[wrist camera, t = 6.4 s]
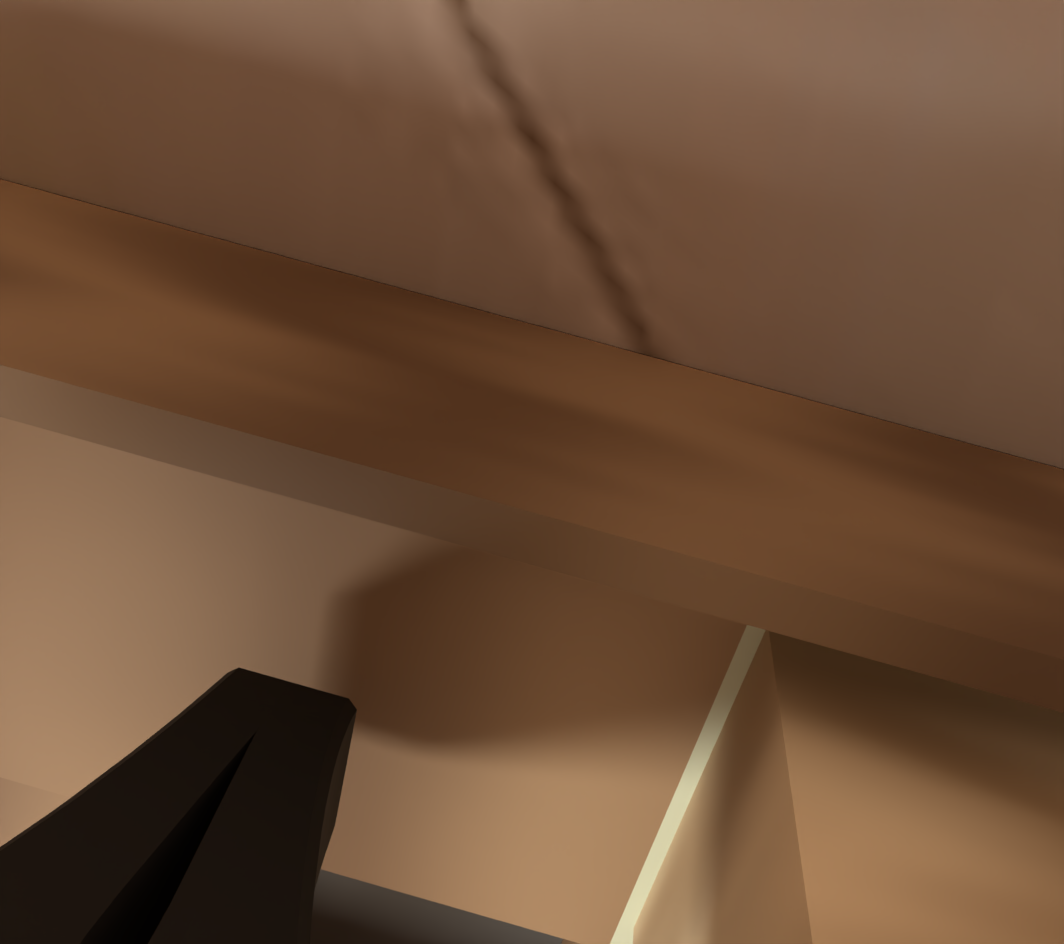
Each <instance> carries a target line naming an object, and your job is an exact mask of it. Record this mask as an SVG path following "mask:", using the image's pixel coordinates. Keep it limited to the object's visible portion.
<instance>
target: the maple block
mask: <svg viewBox="0 0 1064 944" xmlns="http://www.w3.org/2000/svg"><path fill="white" fill-rule="evenodd" d="M633 944H1064V713H1062V712H1058V711H1055V710H1051V709H1048V708H1044V707H1040V706H1037V705H1033V704H1030V703H1026V702H1022V701H1019V700H1015V699H1012V698H1008V697H1004V696H1001V695H997V694H994V693H990V692H987V691H983V690H979V689H976V688H972V687H969V686H965V685H961V684H958V683H954V682H951V681H947V680H943V679H940V678H936V677H933V676H929V675H925V674H922V673H918V672H915V671H911V670H907V669H904V668H900V667H897V666H893V665H890V664H886V663H882V662H879V661H875V660H872V659H868V658H864V657H861V656H857V655H854V654H850V653H846V652H843V651H839V650H836V649H832V648H828V647H825V646H821V645H818V644H814V643H811V642H807V641H803V640H800V639H796V638H793V637H789V636H785V635H782V634H778V633H775V632H771V631H767V630H765V633H764V635H763V637H762V639H761V642H760V644H759V646H758V648H757V651H756V653H755V655H754V657H753V660H752V662H751V664H750V666H749V669H748V671H747V673H746V675H745V678H744V680H743V682H742V684H741V687H740V689H739V691H738V694H737V696H736V698H735V700H734V703H733V705H732V707H731V709H730V712H729V714H728V716H727V718H726V721H725V723H724V725H723V727H722V730H721V732H720V734H719V736H718V739H717V741H716V743H715V745H714V748H713V750H712V752H711V754H710V757H709V759H708V761H707V763H706V766H705V768H704V770H703V772H702V775H701V777H700V779H699V782H698V784H697V786H696V788H695V791H694V793H693V795H692V797H691V800H690V802H689V804H688V806H687V809H686V811H685V813H684V815H683V818H682V820H681V822H680V824H679V827H678V829H677V831H676V833H675V836H674V838H673V840H672V842H671V845H670V847H669V849H668V851H667V854H666V856H665V858H664V860H663V863H662V865H661V867H660V870H659V872H658V874H657V876H656V879H655V881H654V883H653V885H652V888H651V890H650V892H649V894H648V897H647V899H646V901H645V903H644V906H643V908H642V910H641V912H640V915H639V917H638V919H637V921H636V924H635V926H634V931H633Z"/></svg>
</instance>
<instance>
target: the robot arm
mask: <svg viewBox="0 0 1064 944" xmlns="http://www.w3.org/2000/svg"><path fill="white" fill-rule="evenodd" d="M356 713H357V709H356V708H355V706H354V705H353V703H352V702H351V701H350V699H349V698H346V697H342V696H338V695H335V694H331V693H328V692H324V691H321V690H317V689H314V688H310V687H307V686H303V685H300V684H296V683H292V682H289V681H285V680H282V679H278V678H275V677H271V676H268V675H264V674H261V673H257V672H253V671H250V670H246V669H243V668H239V667H238V668H236V669H234V670H232V671H230V672H228V673H227V674H225V675H224V676H223V677H222V678H221V679H220V680H218V681H217V682H216V683H215V684H214V685H213V686H212V687H210V688H209V689H208V690H207V691H206V692H205V693H203V694H202V695H201V696H200V697H199V698H197V699H196V700H195V701H194V702H193V703H192V704H190V705H189V706H188V707H187V708H186V709H184V710H183V711H182V712H181V713H180V714H178V715H177V716H176V717H175V718H173V719H172V720H171V721H170V722H169V723H167V724H166V725H165V726H164V727H162V728H161V729H160V730H159V731H157V732H156V733H155V734H154V735H152V736H151V737H150V738H149V739H147V740H146V741H145V742H143V743H142V744H141V745H140V746H138V747H137V748H136V749H135V750H133V751H132V752H131V753H130V754H128V755H127V756H126V757H124V758H123V759H122V760H120V761H119V762H118V763H116V764H115V765H114V766H112V767H111V768H110V769H108V770H107V771H106V772H104V773H103V774H102V775H100V776H99V777H98V778H96V779H95V780H94V781H92V782H91V783H90V784H88V785H87V786H86V787H84V788H83V789H82V790H80V791H79V792H78V793H76V794H75V795H74V796H72V797H71V798H70V799H68V800H67V801H66V802H64V803H63V804H62V805H60V806H59V807H57V808H56V809H55V810H53V811H52V812H50V813H49V814H48V815H46V816H45V817H43V818H42V819H40V820H39V821H37V822H36V823H34V824H33V825H31V826H30V827H29V828H27V829H26V830H24V831H23V832H21V833H20V834H18V835H17V836H15V837H14V838H12V839H11V840H10V841H8V842H7V843H5V844H4V845H2V846H1V847H0V944H310V937H311V922H312V911H313V899H314V891H315V887H316V884H317V880H318V877H319V873H320V870H321V866H322V863H323V860H324V857H325V854H326V851H327V848H328V845H329V842H330V839H331V836H332V833H333V830H334V827H335V823H336V818H337V812H338V807H339V802H340V797H341V791H342V786H343V781H344V776H345V770H346V765H347V760H348V755H349V749H350V744H351V739H352V734H353V728H354V723H355V718H356Z"/></svg>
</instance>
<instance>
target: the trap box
mask: <svg viewBox="0 0 1064 944" xmlns="http://www.w3.org/2000/svg"><path fill="white" fill-rule="evenodd" d="M765 630H767V631H771V632H775V633H778V634H782V635H785V636H789V637H793V638H796V639H800V640H803V641H807V642H811V643H814V644H818V645H821V646H825V647H828V648H832V649H836V650H839V651H843V652H846V653H850V654H854V655H857V656H861V657H864V658H868V659H872V660H875V661H879V662H882V663H886V664H890V665H893V666H897V667H900V668H904V669H907V670H911V671H915V672H918V673H922V674H925V675H929V676H933V677H936V678H940V679H943V680H947V681H951V682H954V683H958V684H961V685H965V686H969V687H972V688H976V689H979V690H983V691H987V692H990V693H994V694H997V695H1001V696H1004V697H1008V698H1012V699H1015V700H1019V701H1022V702H1026V703H1030V704H1033V705H1037V706H1040V707H1044V708H1048V709H1051V710H1055V711H1058V712H1062V713H1064V469H1060V468H1056V467H1053V466H1049V465H1045V464H1042V463H1038V462H1034V461H1031V460H1027V459H1024V458H1020V457H1016V456H1013V455H1009V454H1005V453H1002V452H998V451H994V450H991V449H987V448H983V447H980V446H976V445H972V444H969V443H965V442H961V441H958V440H954V439H950V438H947V437H943V436H939V435H936V434H932V433H928V432H925V431H921V430H917V429H914V428H910V427H906V426H903V425H899V424H895V423H892V422H888V421H884V420H881V419H877V418H873V417H870V416H866V415H862V414H859V413H855V412H851V411H848V410H844V409H840V408H837V407H833V406H829V405H826V404H822V403H818V402H815V401H811V400H807V399H804V398H800V397H796V396H793V395H789V394H785V393H782V392H778V391H774V390H771V389H767V388H763V387H760V386H756V385H752V384H749V383H745V382H741V381H738V380H734V379H730V378H727V377H723V376H719V375H716V374H712V373H708V372H705V371H701V370H697V369H694V368H690V367H686V366H683V365H679V364H675V363H672V362H668V361H664V360H661V359H657V358H653V357H650V356H646V355H642V354H639V353H635V352H631V351H628V350H624V349H620V348H617V347H613V346H609V345H606V344H602V343H598V342H595V341H591V340H587V339H584V338H580V337H577V336H573V335H569V334H566V333H562V332H558V331H555V330H551V329H547V328H544V327H540V326H536V325H533V324H529V323H525V322H522V321H518V320H514V319H511V318H507V317H503V316H500V315H496V314H492V313H489V312H485V311H481V310H478V309H474V308H470V307H467V306H463V305H459V304H456V303H452V302H448V301H445V300H441V299H437V298H434V297H430V296H426V295H423V294H419V293H415V292H412V291H408V290H404V289H401V288H397V287H393V286H390V285H386V284H382V283H379V282H375V281H371V280H368V279H364V278H360V277H357V276H353V275H349V274H346V273H342V272H338V271H335V270H331V269H327V268H324V267H320V266H316V265H313V264H309V263H305V262H302V261H298V260H294V259H291V258H287V257H283V256H280V255H276V254H272V253H269V252H265V251H261V250H258V249H254V248H250V247H247V246H243V245H239V244H236V243H232V242H228V241H225V240H221V239H217V238H214V237H210V236H206V235H203V234H199V233H195V232H192V231H188V230H184V229H181V228H177V227H173V226H170V225H166V224H162V223H159V222H155V221H151V220H148V219H144V218H140V217H137V216H133V215H130V214H126V213H122V212H119V211H115V210H111V209H108V208H104V207H100V206H97V205H93V204H89V203H86V202H82V201H78V200H75V199H71V198H67V197H64V196H60V195H56V194H53V193H49V192H45V191H42V190H38V189H34V188H31V187H27V186H23V185H20V184H16V183H12V182H9V181H5V180H1V179H0V847H1V846H2V845H4V844H5V843H7V842H8V841H10V840H11V839H12V838H14V837H15V836H17V835H18V834H20V833H21V832H23V831H24V830H26V829H27V828H29V827H30V826H31V825H33V824H34V823H36V822H37V821H39V820H40V819H42V818H43V817H45V816H46V815H48V814H49V813H50V812H52V811H53V810H55V809H56V808H57V807H59V806H60V805H62V804H63V803H64V802H66V801H67V800H68V799H70V798H71V797H72V796H74V795H75V794H76V793H78V792H79V791H80V790H82V789H83V788H84V787H86V786H87V785H88V784H90V783H91V782H92V781H94V780H95V779H96V778H98V777H99V776H100V775H102V774H103V773H104V772H106V771H107V770H108V769H110V768H111V767H112V766H114V765H115V764H116V763H118V762H119V761H120V760H122V759H123V758H124V757H126V756H127V755H128V754H130V753H131V752H132V751H133V750H135V749H136V748H137V747H138V746H140V745H141V744H142V743H143V742H145V741H146V740H147V739H149V738H150V737H151V736H152V735H154V734H155V733H156V732H157V731H159V730H160V729H161V728H162V727H164V726H165V725H166V724H167V723H169V722H170V721H171V720H172V719H173V718H175V717H176V716H177V715H178V714H180V713H181V712H182V711H183V710H184V709H186V708H187V707H188V706H189V705H190V704H192V703H193V702H194V701H195V700H196V699H197V698H199V697H200V696H201V695H202V694H203V693H205V692H206V691H207V690H208V689H209V688H210V687H212V686H213V685H214V684H215V683H216V682H217V681H218V680H220V679H221V678H222V677H223V676H224V675H225V674H227V673H228V672H230V671H232V670H234V669H236V668H238V667H239V668H243V669H246V670H250V671H253V672H257V673H261V674H264V675H268V676H271V677H275V678H278V679H282V680H285V681H289V682H292V683H296V684H300V685H303V686H307V687H310V688H314V689H317V690H321V691H324V692H328V693H331V694H335V695H338V696H342V697H346V698H349V699H350V701H351V702H352V703H353V705H354V706H355V708H356V709H357V713H356V718H355V723H354V728H353V734H352V739H351V744H350V749H349V755H348V760H347V765H346V770H345V776H344V781H343V786H342V791H341V797H340V802H339V807H338V812H337V818H336V823H335V827H334V830H333V833H332V836H331V839H330V842H329V845H328V848H327V851H326V854H325V857H324V860H323V863H322V866H321V870H320V873H319V877H318V880H317V884H316V887H315V891H314V899H313V911H312V922H311V937H310V944H633V931H634V926H635V924H636V921H637V919H638V917H639V915H640V912H641V910H642V908H643V906H644V903H645V901H646V899H647V897H648V894H649V892H650V890H651V888H652V885H653V883H654V881H655V879H656V876H657V874H658V872H659V870H660V867H661V865H662V863H663V860H664V858H665V856H666V854H667V851H668V849H669V847H670V845H671V842H672V840H673V838H674V836H675V833H676V831H677V829H678V827H679V824H680V822H681V820H682V818H683V815H684V813H685V811H686V809H687V806H688V804H689V802H690V800H691V797H692V795H693V793H694V791H695V788H696V786H697V784H698V782H699V779H700V777H701V775H702V772H703V770H704V768H705V766H706V763H707V761H708V759H709V757H710V754H711V752H712V750H713V748H714V745H715V743H716V741H717V739H718V736H719V734H720V732H721V730H722V727H723V725H724V723H725V721H726V718H727V716H728V714H729V712H730V709H731V707H732V705H733V703H734V700H735V698H736V696H737V694H738V691H739V689H740V687H741V684H742V682H743V680H744V678H745V675H746V673H747V671H748V669H749V666H750V664H751V662H752V660H753V657H754V655H755V653H756V651H757V648H758V646H759V644H760V642H761V639H762V637H763V635H764V633H765Z"/></svg>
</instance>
